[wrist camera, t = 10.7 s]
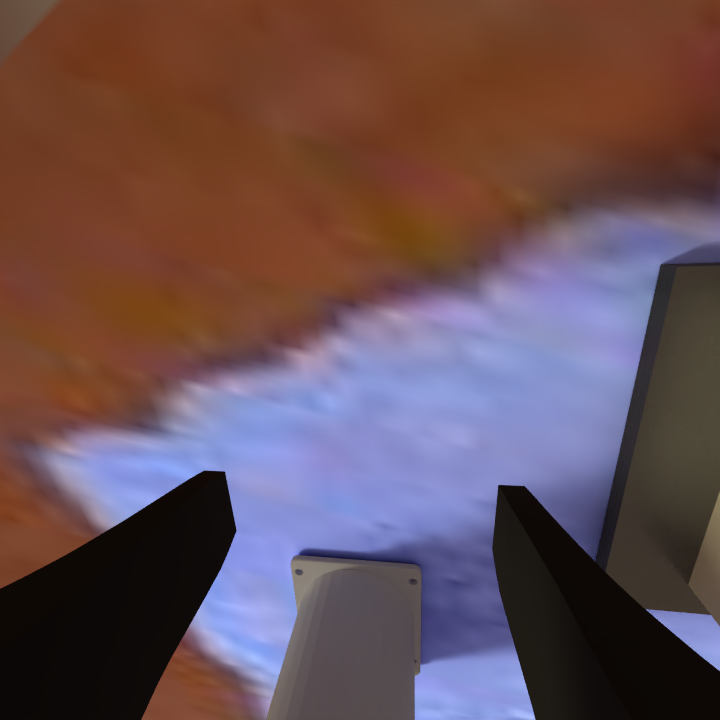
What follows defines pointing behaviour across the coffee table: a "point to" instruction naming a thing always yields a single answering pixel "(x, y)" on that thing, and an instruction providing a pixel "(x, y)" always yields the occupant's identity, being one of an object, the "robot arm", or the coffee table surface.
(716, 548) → the block with holes
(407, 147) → the coffee table surface
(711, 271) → the flange base
